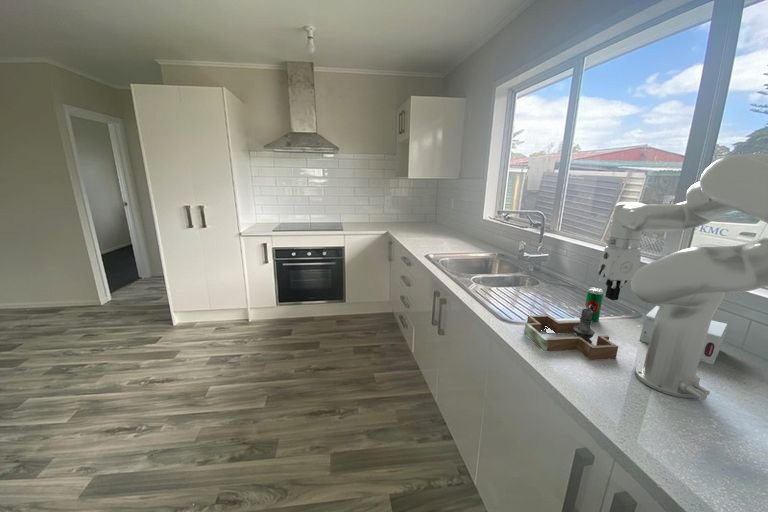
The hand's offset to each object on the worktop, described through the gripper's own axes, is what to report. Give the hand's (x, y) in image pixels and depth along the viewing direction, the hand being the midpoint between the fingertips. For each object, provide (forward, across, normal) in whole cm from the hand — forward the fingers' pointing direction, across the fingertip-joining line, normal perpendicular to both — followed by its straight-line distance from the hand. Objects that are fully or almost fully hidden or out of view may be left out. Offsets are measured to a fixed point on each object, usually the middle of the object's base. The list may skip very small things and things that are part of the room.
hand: (611, 298), depth 97 cm
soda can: (+15, +6, +13) cm, 20 cm away
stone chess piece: (+14, -8, -1) cm, 16 cm away
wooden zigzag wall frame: (+14, -14, -1) cm, 20 cm away
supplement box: (+14, +20, -7) cm, 25 cm away
